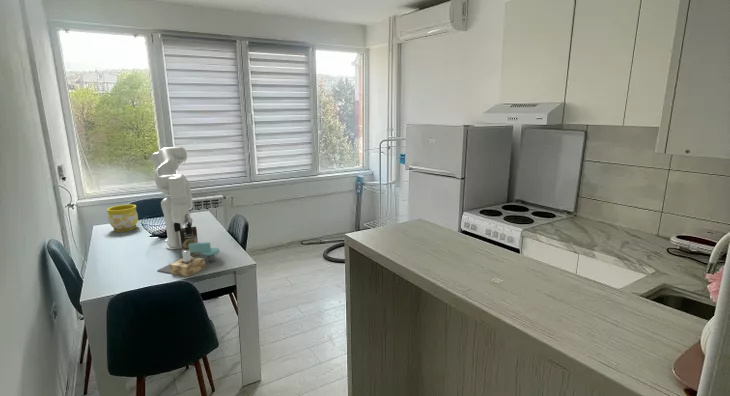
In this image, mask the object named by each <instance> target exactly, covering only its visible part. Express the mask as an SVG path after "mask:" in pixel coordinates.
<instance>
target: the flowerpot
mask: <svg viewBox="0 0 730 396" xmlns="http://www.w3.org/2000/svg"><path fill="white" fill-rule="evenodd" d="M106 212H107V214H108V222H109V225H110V226H111V227H112V228H113V231H115V232H116V233H117V232H118V233H125V232H128V231H132V230H135V229H136V228H137V223H138V221H139V216H138V215H139V214H138V212H137V205H136V204H130V203H129V204H120V205H114V206H111V207H108V208H106Z"/></svg>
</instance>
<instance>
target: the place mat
mask: <svg viewBox="0 0 730 396" xmlns="http://www.w3.org/2000/svg"><path fill="white" fill-rule="evenodd" d="M170 264H171V263H170ZM170 264H168V265H166V266H163V267H162V268H161V267H160V268H159V269H157V272H159V273H165V274H172V273H171V271H170Z"/></svg>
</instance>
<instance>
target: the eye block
mask: <svg viewBox="0 0 730 396" xmlns="http://www.w3.org/2000/svg"><path fill="white" fill-rule="evenodd" d="M205 259H206V258H202V257H197V256H191V262H190V263H188V264H184V262H183V257H182V258H180V259H178V260H176V261H174V262H172V263H170V271H171V273H170V274H173V275H179V276H183V277H184V276H185V277H191V276H192V275H194V274H196V273H197V272H199V271H202V270H203V269H205V268H206V261H205Z"/></svg>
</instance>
